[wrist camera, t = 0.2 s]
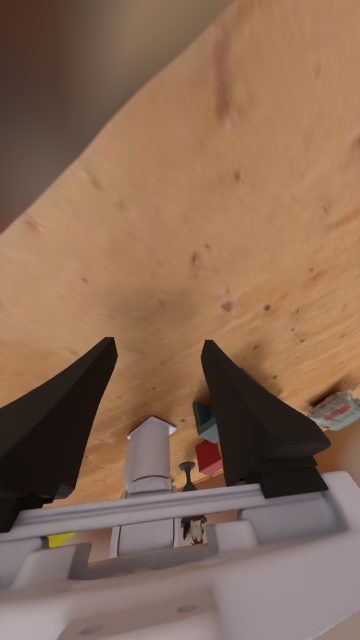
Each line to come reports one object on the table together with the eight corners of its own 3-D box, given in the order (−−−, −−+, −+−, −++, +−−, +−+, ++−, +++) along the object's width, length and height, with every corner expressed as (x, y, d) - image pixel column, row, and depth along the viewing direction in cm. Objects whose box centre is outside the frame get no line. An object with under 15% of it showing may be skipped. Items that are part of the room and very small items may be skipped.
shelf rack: (232, 428, 36) (244, 458, 30) (192, 404, 30) (198, 436, 25) (277, 399, 33) (299, 427, 27) (241, 367, 27) (260, 394, 22)
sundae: (199, 467, 43) (215, 563, 29) (179, 472, 43) (185, 570, 29) (195, 458, 40) (211, 559, 27) (174, 463, 40) (179, 567, 27)
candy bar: (204, 450, 39) (209, 475, 34) (195, 446, 38) (199, 472, 33) (231, 434, 37) (240, 458, 32) (222, 429, 35) (230, 454, 31)
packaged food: (297, 408, 35) (317, 430, 31) (339, 381, 32) (367, 400, 28) (312, 418, 38) (332, 439, 33) (351, 393, 35) (379, 413, 31)
